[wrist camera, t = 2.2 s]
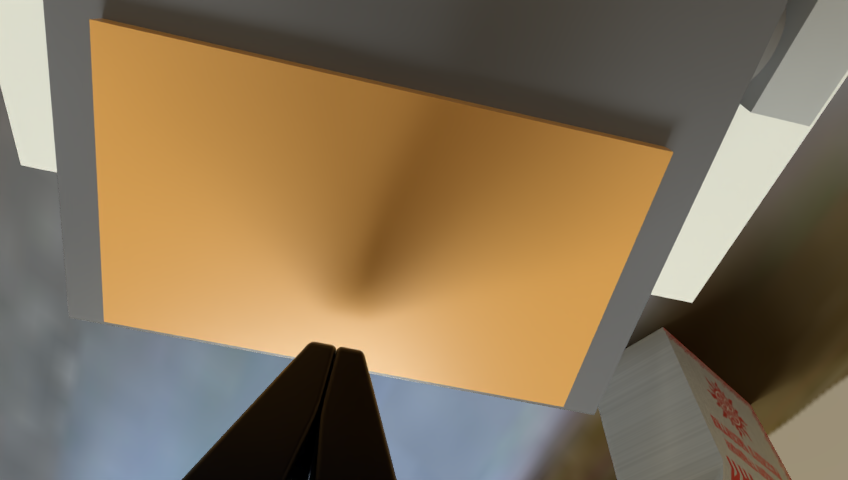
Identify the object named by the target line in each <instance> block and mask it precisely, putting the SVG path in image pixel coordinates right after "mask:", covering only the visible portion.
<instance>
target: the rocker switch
mask: <svg viewBox="0 0 848 480" xmlns="http://www.w3.org/2000/svg"><path fill="white" fill-rule="evenodd" d="M787 3H788V0H43V7H44V19H45V32H46V44H47V56H48V68H49V81H50V93H51V105H52V117H53V130H54V142H55V154H56V166H57V179H58V191H59V203H60V215H61V227H62V240H63V252H64V264H65V276H66V289H67V301H68V313H69V318H74V319H79V320H84V321H90V322H95V323H100V324H106V325H111V326H117V327H122V328H127V329H133V330H138V331H144V332H149V333H154V334H160V335H165V336H171V337H176V338H181V339H187V340H192V341H198V342H203V343H208V344H214V345H219V346H225V347H230V348H235V349H241V350H246V351H251V352H257V353H262V354H268V355H273V356H278V357H284V358H289V359H294V358H295V357H296V356H297V355H298V354H299V353H300V352H301V351H302V350H303V349H304V348H305V347H306V346H307V345H308V344H309V343H311V342H319V343H324V344H330V345H333V346H335V348H336V350H337V349H338V348H339V347H346V348H351V349H356V350H361V351H362V352H363V353H364V355H365V359H366V363H367V367H368V371H369V373H370V374H376V375H381V376H386V377H392V378H397V379H403V380H408V381H413V382H419V383H424V384H429V385H435V386H440V387H446V388H451V389H456V390H462V391H467V392H473V393H478V394H483V395H489V396H494V397H500V398H505V399H510V400H516V401H521V402H527V403H532V404H537V405H543V406H548V407H554V408H559V409H564V410H570V411H575V412H580V413H586V414H591V415H594V414H595V412H596V410H597V408H598V406H599V403H600V401H601V399H602V397H603V395H604V393H605V391H606V388H607V386H608V384H609V382H610V380H611V378H612V376H613V374H614V371H615V369H616V367H617V365H618V363H619V361H620V359H621V357H622V354H623V352H624V350H625V348H626V346H627V344H628V342H629V339H630V337H631V335H632V333H633V331H634V329H635V327H636V325H637V322H638V320H639V318H640V316H641V314H642V312H643V310H644V307H645V305H646V303H647V301H648V299H649V297H650V295H651V293H652V290H653V288H654V286H655V284H656V282H657V280H658V278H659V275H660V273H661V271H662V269H663V267H664V265H665V263H666V261H667V258H668V256H669V254H670V252H671V250H672V248H673V246H674V243H675V241H676V239H677V237H678V235H679V233H680V231H681V229H682V226H683V224H684V222H685V220H686V218H687V216H688V214H689V212H690V209H691V207H692V205H693V203H694V201H695V199H696V197H697V194H698V192H699V190H700V188H701V186H702V184H703V182H704V180H705V177H706V175H707V173H708V171H709V169H710V167H711V165H712V162H713V160H714V158H715V156H716V154H717V152H718V150H719V148H720V145H721V143H722V141H723V139H724V137H725V135H726V133H727V130H728V128H729V126H730V124H731V122H732V120H733V118H734V116H735V113H736V111H737V109H738V107H739V105H740V103H741V101H742V98H743V96H744V94H745V92H746V90H747V88H748V86H749V84H750V81H751V80H752V79H753V78H754V77H755V76H757V75H758V74H759V72H760V71H761V70H762V69H763V68H764V67H765V65H766V64H767V63H768V61H769V60H770V58H771V57H772V55H773V53H774V51H775V50H776V48H777V46H778V43H779V41H780V39H781V36H782V33H783V30H784V26H785V21H786V5H787Z"/></svg>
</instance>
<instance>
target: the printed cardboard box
mask: <svg viewBox="0 0 848 480" xmlns="http://www.w3.org/2000/svg"><path fill="white" fill-rule="evenodd" d="M598 408H599V412H600V415H601V419H602V423H603V427H604V431H605V435H606V438H607V442H608V446H609V450H610V454H611V458H612V461H613V465H614V469H615V473H616V477H617V480H791V478H790V476H789V474H788V472H787V471H786V469H785V467H784V465H783V463H782V462H781V460H780V458H779V456H778V454H777V452H776V451H775V449H774V447H773V445H772V443H771V442H770V440H769V438H768V436H767V434H766V432H765V430H764V429H763V427H762V425H761V423H760V421H759V419H758V418H757V416H756V414H755V412H754V410H753V409H752V407H751V405H750V404H749V403H748V402H747V401H746V400H745V399H743V398H742V397H741V396H740V395H739V394H738V393H737V392H736V391H734V390H733V389H732V388H731V387H730V386H729V385H728V384H727V383H725V382H724V381H723V380H722V379H721V378H720V377H719V376H718V375H716V374H715V373H714V372H713V371H712V370H711V369H710V368H709V367H707V366H706V365H705V364H704V363H703V362H702V361H701V360H700V359H698V358H697V357H696V356H695V355H694V354H693V353H692V352H691V351H689V350H688V349H687V348H686V347H685V346H684V345H683V344H682V343H681V342H679V341H678V340H677V339H676V338H675V337H674V336H673V335H672V334H670V333H669V332H668V331H667V330H666V329H665V328H664V327H662V328H660V329H659V330H657V331H655V332H653V333H652V334H650V335H648V336H647V337H645V338H643V339H641V340H640V341H638V342H636V343H635V344H633V345H631V346H629V347H628V348H626V349H625V350H624V352H623V354H622V357H621V359H620V361H619V363H618V365H617V367H616V369H615V371H614V374H613V376H612V378H611V380H610V382H609V384H608V386H607V388H606V391H605V393H604V395H603V397H602V399H601V401H600V403H599V406H598Z"/></svg>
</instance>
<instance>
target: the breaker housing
mask: <svg viewBox="0 0 848 480" xmlns="http://www.w3.org/2000/svg"><path fill="white" fill-rule="evenodd" d="M847 76H848V0H788V3H787V5H786V21H785V26H784V30H783V33H782V36H781V39H780V41H779V43H778V46H777V48H776V50H775V51H774V53H773V55H772V57H771V58H770V60H769V61H768V63H767V64H766V65H765V67H764V68H763V69H762V70H761V71H760V72H759V74H758V75H757V76H755V77H754V78H753V79H752V80H751V81H750V84H749V86H748V88H747V90H746V92H745V94H744V96H743V98H742V101H741V103H740V105H739V107H738V109H737V111H736V113H735V116H734V118H733V120H732V122H731V124H730V126H729V128H728V130H727V133H726V135H725V137H724V139H723V141H722V143H721V145H720V148H719V150H718V152H717V154H716V156H715V158H714V160H713V162H712V165H711V167H710V169H709V171H708V173H707V175H706V177H705V180H704V182H703V184H702V186H701V188H700V190H699V192H698V194H697V197H696V199H695V201H694V203H693V205H692V207H691V209H690V212H689V214H688V216H687V218H686V220H685V222H684V224H683V226H682V229H681V231H680V233H679V235H678V237H677V239H676V241H675V243H674V246H673V248H672V250H671V252H670V254H669V256H668V258H667V261H666V263H665V265H664V267H663V269H662V271H661V273H660V275H659V278H658V280H657V282H656V284H655V286H654V288H653V290H652V293H651V295H656V296H661V297H666V298H671V299H676V300H680V301H685V302H690V303H692V302H693V301H694V299H695V298H696V297H697V295H698V294H699V292H700V291H701V289H702V288H703V286H704V285H705V283H706V282H707V280H708V279H709V278H710V276H711V275H712V273H713V272H714V270H715V269H716V267H717V266H718V264H719V263H720V261H721V260H722V258H723V257H724V256H725V254H726V253H727V251H728V250H729V248H730V247H731V245H732V244H733V242H734V241H735V239H736V238H737V237H738V235H739V234H740V232H741V231H742V229H743V228H744V226H745V225H746V223H747V222H748V220H749V219H750V218H751V216H752V215H753V213H754V212H755V210H756V209H757V207H758V206H759V204H760V203H761V201H762V200H763V198H764V197H765V196H766V194H767V193H768V191H769V190H770V188H771V187H772V185H773V184H774V182H775V181H776V179H777V178H778V177H779V175H780V174H781V172H782V171H783V169H784V168H785V166H786V165H787V163H788V162H789V160H790V159H791V157H792V156H793V155H794V153H795V152H796V150H797V149H798V147H799V146H800V144H801V143H802V141H803V140H804V138H805V137H806V136H807V134H808V133H809V131H810V130H811V128H812V127H813V125H814V124H815V122H816V121H817V119H818V118H819V117H820V115H821V114H822V112H823V111H824V109H825V108H826V106H827V105H828V103H829V102H830V100H831V99H832V97H833V96H834V95H835V93H836V92H837V90H838V89H839V87H840V86H841V84H842V83H843V81H844V80H845V78H846V77H847ZM0 86H1V89H2V93H3V97H4V101H5V105H6V109H7V113H8V117H9V120H10V124H11V128H12V132H13V136H14V140H15V144H16V147H17V151H18V155H19V159H20V163H21V165H23V166H28V167H32V168H37V169H42V170H47V171H52V172H57V166H56V154H55V142H54V130H53V117H52V105H51V93H50V81H49V68H48V56H47V44H46V32H45V19H44V7H43V0H0Z"/></svg>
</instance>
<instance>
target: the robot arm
mask: <svg viewBox="0 0 848 480" xmlns="http://www.w3.org/2000/svg"><path fill="white" fill-rule="evenodd" d="M309 476H310V477H309ZM182 480H397V479H396V476H395V472H394V468H393V464H392V460H391V456H390V452H389V448H388V444H387V441H386V437H385V433H384V429H383V425H382V421H381V417H380V413H379V409H378V406H377V402H376V398H375V394H374V390H373V386H372V382H371V378H370V374H369V371H368V367H367V363H366V359H365V355H364V353H363V352H362V351H361V350H356V349H351V348H346V347H339V348H338V349H337V350H336V348H335V346H333V345H330V344H324V343H319V342H311V343H309V344H308V345H307V346H306V347H305V348H304V349H303V350H302V351H301V352H300V353H299V354H298V355H297V356H296V357H295V358H294V360H293V361H292V362H291V363H290V364H289V365H288V366H287V367H286V368H285V369H284V370H283V371H282V372H281V373H280V375H279V376H278V377H277V378H276V379H275V380H274V381H273V382H272V383H271V384H270V385H269V386H268V387H267V389H266V390H265V391H264V392H263V393H262V394H261V395H260V396H259V397H258V398H257V399H256V400H255V401H254V403H253V404H252V405H251V406H250V407H249V408H248V409H247V410H246V411H245V412H244V413H243V414H242V415H241V417H240V418H239V419H238V420H237V421H236V422H235V423H234V424H233V425H232V426H231V427H230V428H229V429H228V430H227V432H226V433H225V434H224V435H223V436H222V437H221V438H220V439H219V440H218V441H217V442H216V443H215V444H214V446H213V447H212V448H211V449H210V450H209V451H208V452H207V453H206V454H205V455H204V456H203V457H202V458H201V460H200V461H199V462H198V463H197V464H196V465H195V466H194V467H193V468H192V469H191V470H190V471H189V472H188V474H187V475H186V476H185V477H184V478H183V479H182Z"/></svg>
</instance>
